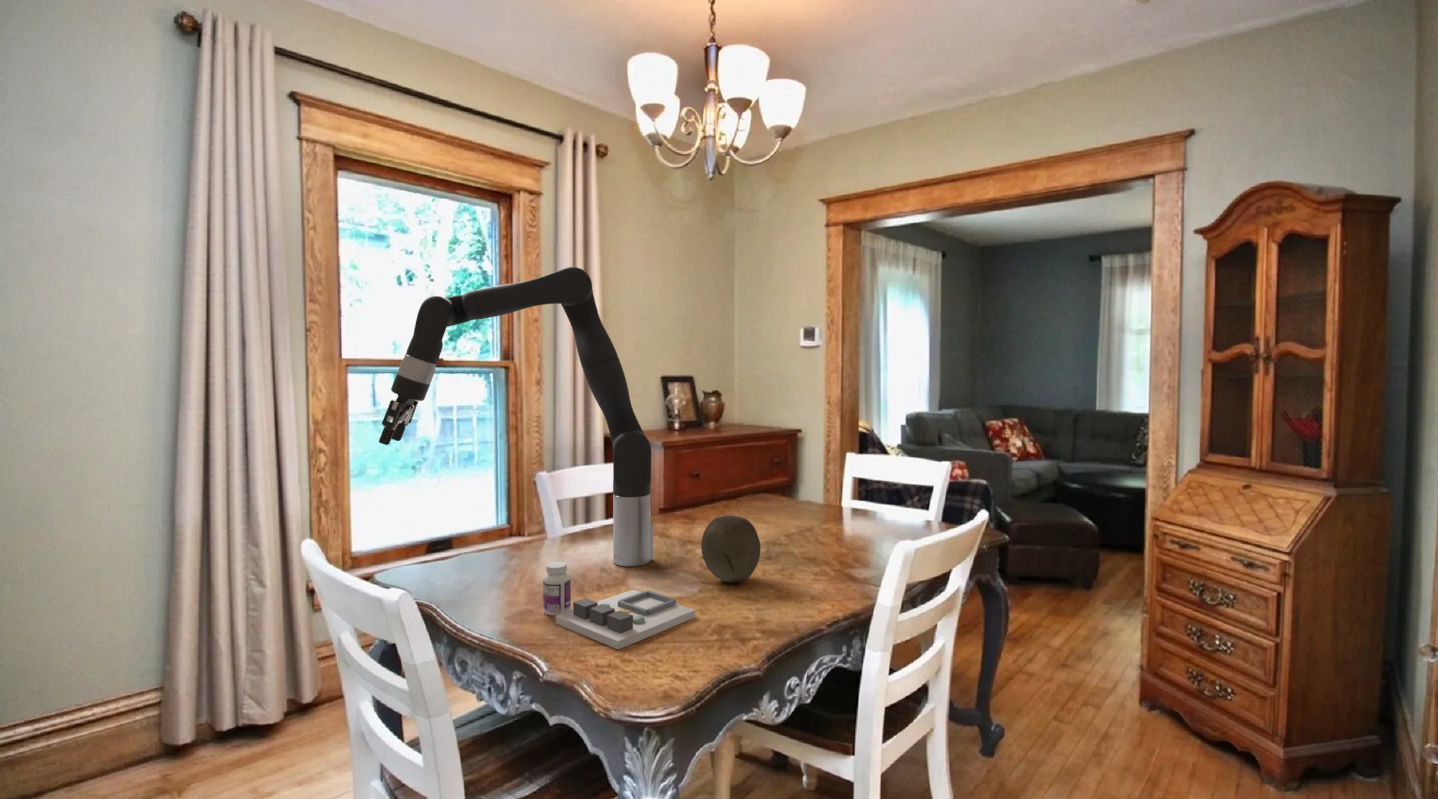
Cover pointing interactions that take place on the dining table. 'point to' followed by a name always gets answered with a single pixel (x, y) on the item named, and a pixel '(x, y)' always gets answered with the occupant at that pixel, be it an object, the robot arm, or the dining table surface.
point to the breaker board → (638, 628)
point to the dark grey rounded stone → (731, 548)
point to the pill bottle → (556, 589)
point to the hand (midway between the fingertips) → (389, 441)
